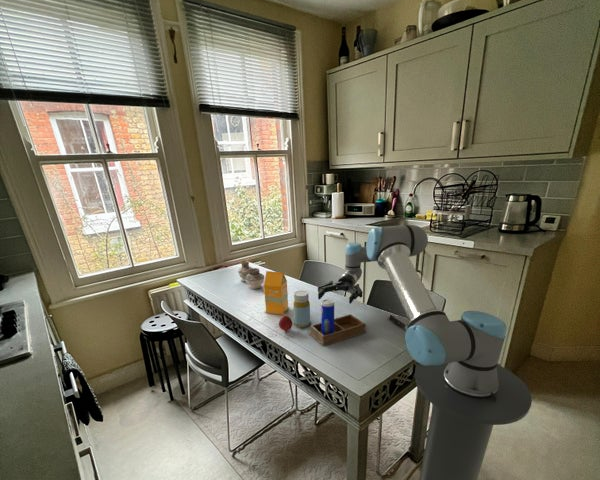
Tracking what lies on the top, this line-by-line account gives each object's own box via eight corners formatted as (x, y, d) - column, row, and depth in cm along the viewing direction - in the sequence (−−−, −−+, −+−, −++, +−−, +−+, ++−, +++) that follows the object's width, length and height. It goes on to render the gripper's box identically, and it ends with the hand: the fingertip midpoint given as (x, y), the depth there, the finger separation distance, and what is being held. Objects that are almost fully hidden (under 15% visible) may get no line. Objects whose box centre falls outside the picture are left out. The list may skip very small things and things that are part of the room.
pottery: (252, 276, 202) (250, 258, 197) (268, 288, 183) (266, 268, 178) (235, 279, 197) (232, 261, 192) (250, 292, 178) (248, 272, 173)
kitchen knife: (388, 318, 143) (389, 315, 142) (390, 318, 143) (391, 314, 143) (415, 337, 128) (416, 333, 127) (417, 337, 128) (418, 333, 127)
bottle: (292, 327, 139) (291, 295, 133) (296, 319, 145) (295, 289, 139) (308, 328, 138) (307, 297, 131) (311, 321, 144) (310, 290, 138)
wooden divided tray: (365, 332, 133) (365, 324, 131) (323, 345, 125) (323, 336, 123) (350, 322, 141) (350, 314, 140) (310, 334, 133) (310, 325, 132)
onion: (295, 329, 137) (294, 313, 134) (288, 335, 133) (287, 318, 129) (284, 326, 140) (283, 310, 137) (276, 332, 136) (275, 315, 132)
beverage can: (319, 334, 131) (318, 302, 125) (327, 330, 134) (327, 298, 128) (328, 339, 127) (328, 305, 121) (336, 334, 131) (337, 301, 124)
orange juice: (282, 314, 151) (280, 275, 142) (265, 312, 153) (262, 273, 145) (288, 307, 157) (286, 269, 149) (272, 305, 160) (269, 268, 152)
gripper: (373, 291, 147) (363, 310, 129) (322, 285, 156) (306, 302, 138) (374, 276, 144) (364, 293, 126) (322, 271, 153) (306, 286, 135)
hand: (334, 298), depth 132 cm, fingers open, 13 cm apart
